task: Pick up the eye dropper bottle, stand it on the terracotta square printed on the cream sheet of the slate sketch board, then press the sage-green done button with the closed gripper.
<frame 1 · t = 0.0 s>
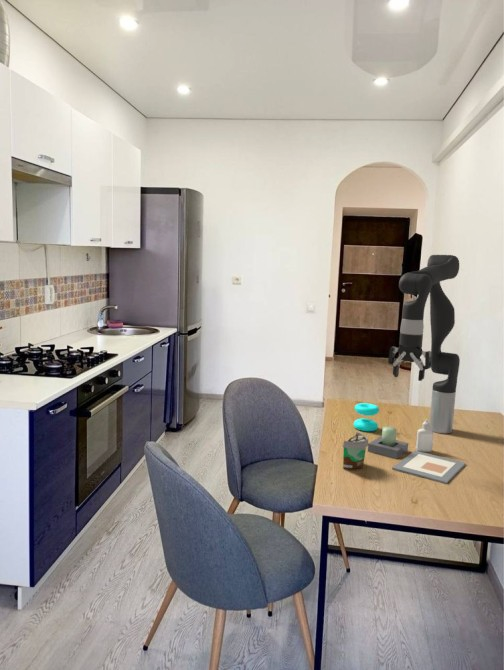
hand: (408, 378, 182), 29 cm above the table, tool pointing down, fingers open, 8 cm apart
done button: (388, 436, 194), point 6 cm above the table, slide at 0.0 cm
button housing: (387, 451, 194), on the table
eye dropper bottle: (423, 451, 197), on the table
donuts: (365, 429, 221), on the table
food container: (356, 467, 178), on the table
sketch board: (429, 466, 180), on the table
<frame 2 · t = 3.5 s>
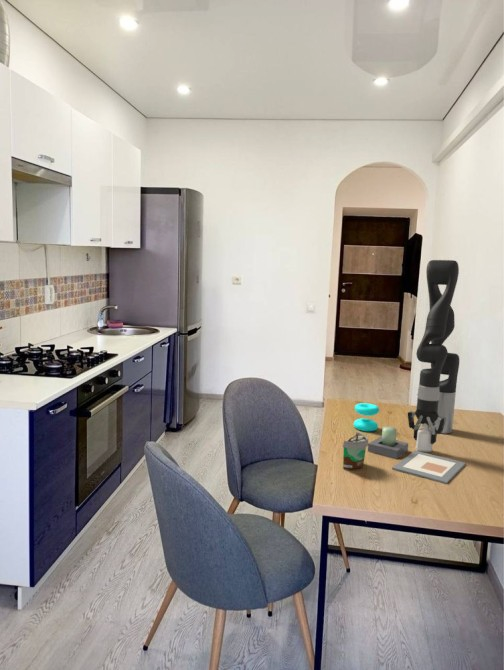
hand: (424, 441, 196), 3 cm above the table, tool pointing down, fingers closed on eye dropper bottle, 5 cm apart
eye dropper bottle: (423, 451, 196), on the table, touching gripper
everything else where it was.
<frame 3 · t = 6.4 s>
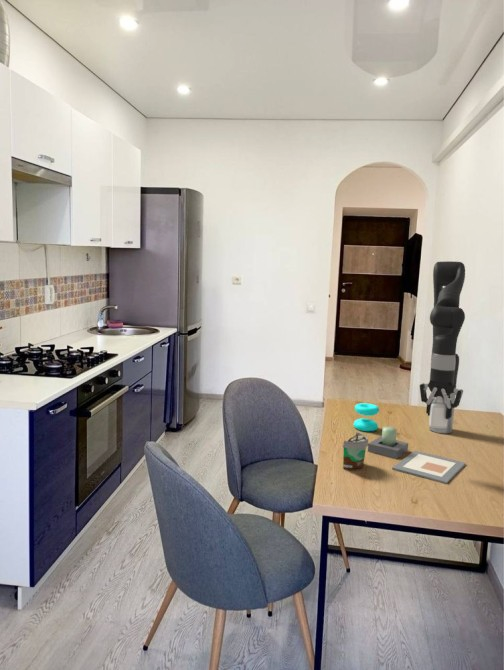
hand: (438, 416, 176), 18 cm above the table, tool pointing down, fingers closed on eye dropper bottle, 5 cm apart
eye dropper bottle: (437, 427, 176), point 15 cm above the table, touching gripper
everything else where it was.
when the fingers open (5 cm above the table, at t = 9.6 s): eye dropper bottle stays where it is, resting on sketch board.
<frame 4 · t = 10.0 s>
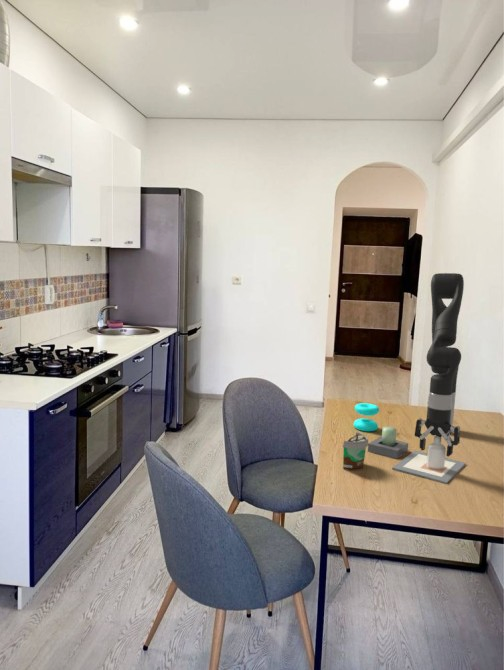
hand: (435, 452, 177), 6 cm above the table, tool pointing down, fingers open, 8 cm apart
eye dropper bottle: (435, 468, 178), point 1 cm above the table, touching sketch board
everything else where it was.
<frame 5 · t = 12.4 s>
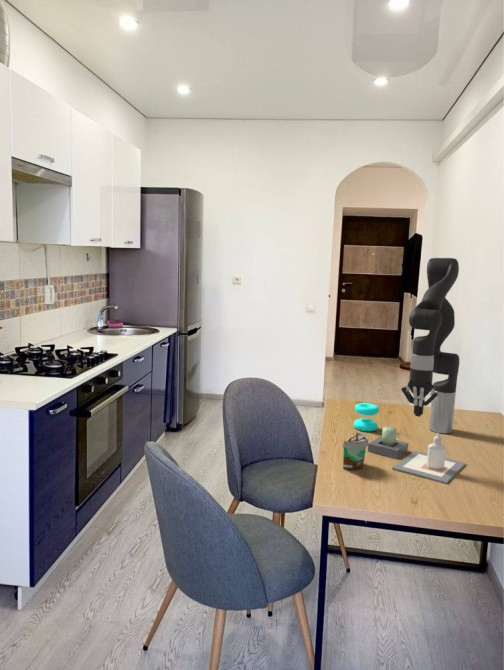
hand: (418, 415, 183), 16 cm above the table, tool pointing down, fingers closed
nothing on the table moved.
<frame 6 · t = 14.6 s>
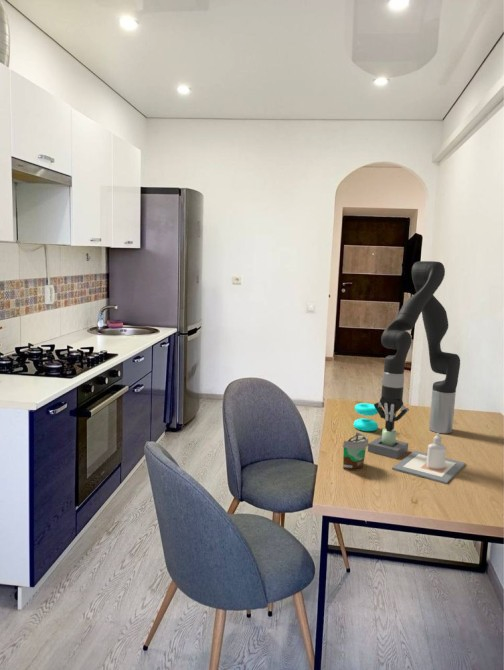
hand: (389, 430, 193), 8 cm above the table, tool pointing down, fingers closed
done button: (388, 438, 194), point 5 cm above the table, slide at 0.8 cm, touching gripper
everything else where it was.
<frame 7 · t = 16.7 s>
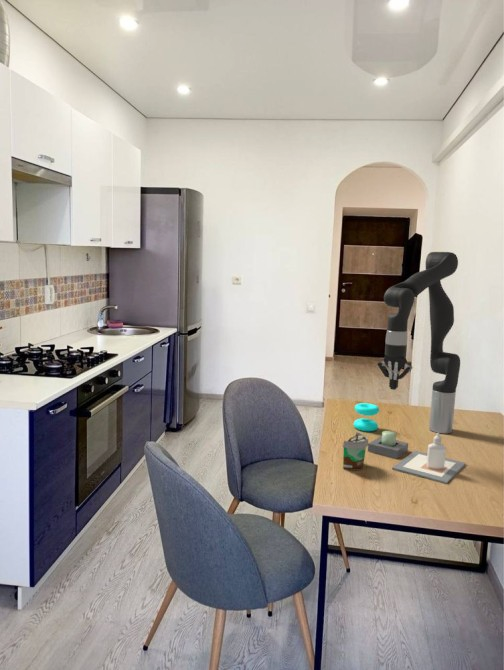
hand: (393, 389, 194), 23 cm above the table, tool pointing down, fingers closed
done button: (388, 441, 194), point 4 cm above the table, slide at 1.7 cm
everything else where it was.
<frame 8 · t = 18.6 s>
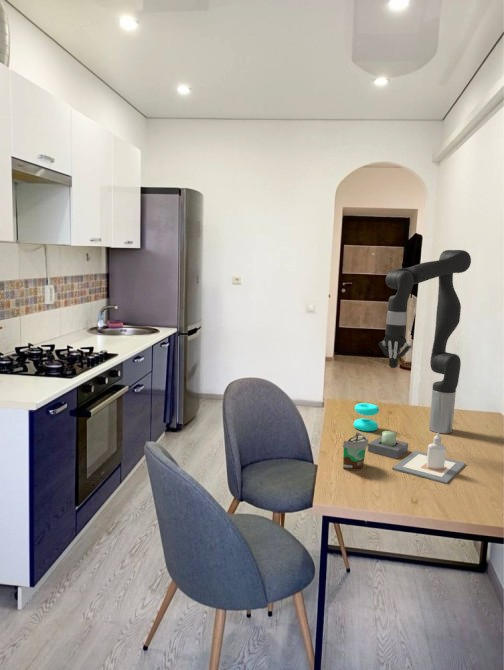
hand: (393, 367, 203), 29 cm above the table, tool pointing down, fingers closed
nothing on the table moved.
at the end: eye dropper bottle inside the target area (0.3 cm from its centre), point 0.5 cm above the table; eye dropper bottle tilted 0°; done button slide at 1.7 cm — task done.
